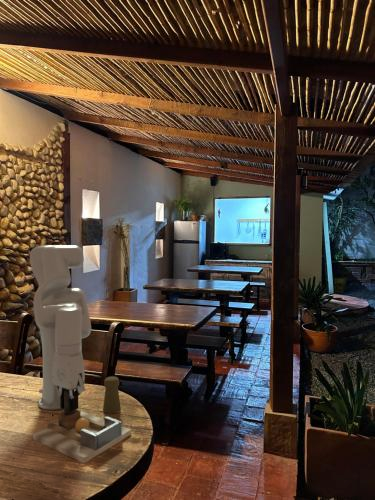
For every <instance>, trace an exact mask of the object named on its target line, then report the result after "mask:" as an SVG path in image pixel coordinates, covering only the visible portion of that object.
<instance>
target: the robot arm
mask: <svg viewBox="0 0 375 500" xmlns="http://www.w3.org/2000/svg"><path fill="white" fill-rule="evenodd" d="M84 258H85V257H84V252H83V250H82V248H81V247H80V246H79V245H74V244H73V245H72V244H69V245H66V244H65V245H55V244H53V245H49V244H47V245H39V246H35V247H33V248H32V249H31V251H30V253H29V262H30V266H31V267H30V268H31V270H32V274H33V276H34V277H35V279H36V282H37V283H38V289H37V290H36V291H35V294H34V297H33V312H34V320H35V324H36V326H37V328H39V333H40V334H39V335H40V341H41V349H42V350H41V351H42V387H41V388H40V389H39V390H38V392H39V393H40V394H41V398H39V400H38V406H39V407H40V409H43V410H46V411H47V410H50V411H54V410H62V409H63V410H64V390H65V389H68V390H69V392H70V398H69V400H68V401H69V411H70V412H71V411H74V410H78V409H79V396H81V394H82V393H83V392H85V391H86V388H85V380H86V379H85V376H86V375H85V363H84V362H85V361H84V358H83V357H84V356H83V352H82V351H83V350H82V344H83V343H82V339H85V338H87V337H89V336H90V334H91V332H92V323H91V317H90V314H89V312H90V311H89V307H88V301H87V297H86V294H85V292H84V290H83V289H81V288H79V287H68V286H69V285H70V284H71V283H72V277H71V273H70V269H79V268H81V267H83V265H84V261H85V260H84ZM67 287H68V288H67ZM73 390H74V392H73Z"/></svg>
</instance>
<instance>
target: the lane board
mask: <svg viewBox="0 0 375 500" xmlns="http://www.w3.org/2000/svg"><path fill="white" fill-rule="evenodd" d="M80 418H86V419H88V421H89V428H88V431H90V432H93V433H95V434H96V433H98V432H99V431H101V430H103V429H104V419H103V418H101V417H98V416H96V415H93V414H90V413H87V412H85V411H82V410H80ZM131 435H132V429H131V428H129V427H126V426H122V435H121V436H119V437H118V438H116V439H114V440H113V441H111V442H109V443H108V444H106V445H104V446H103V447H101V448H99V449H98V450H96V451H95V450H93V449H90V448H88V447H86V446H84V445H81V436H80V432H78V431H77V430H76V427H74V428H72V429H70V430H68V429H66V428H63V427H61V426H59V423H58V421H57V422H55V423H54V422H51V421H48V422H47V424H46V427H45V428H42V429H40V430H38V431H37V432H34V433H33V434H32V439H33V440H35V441H37V442H39V443H41V444H42V445H45V446H47V447H49V448H51V449H53V450H55V451H58V452H60V453H61V454H63V455H66V456H68V457H70V458H72V459H75V460H76V461H78V462H80V463H82V464H86V463H87V462H88V461H90V460H92V459H94V458H96V457H97V456H98V455H100V454H102V453H103V452H106V450H108V449H110V448H111V447H113V446H114V445H117V444H119V443H120V442H121V441H123V440H124V439H126V438H127V437H129V436H131Z"/></svg>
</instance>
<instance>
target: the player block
mask: <svg viewBox="0 0 375 500" xmlns="http://www.w3.org/2000/svg"><path fill="white" fill-rule="evenodd" d="M74 391H75V389H74V390H73V392H74ZM69 398H70V392H69V390H68V389H65V390H64V408H63V411H62V412H59V413H58V417H57V418H58V419H57V420H58V421H57V422H58V423H59V426H61V427H63V428H66V429H68V430H70V429H72V428H74V427H75V425H76V422H77V420H78V419H80V412H81V410H78V409H76V410H74V411H71V412H70V411H69V401H68V400H69Z"/></svg>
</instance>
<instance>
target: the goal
mask: <svg viewBox="0 0 375 500" xmlns="http://www.w3.org/2000/svg"><path fill="white" fill-rule="evenodd" d="M103 418H104V429H103V430H101V431H99V432H98V433H96V434H95V433H93V432H90V431H88V430H86V429H81V430H80V436H81V445H84V446H86V447H88V448H90V449H93V450H95V451H96V450H98V449H99V448H101V447H103V446H104V445H106V444H108V443H109V442H111V441H113V440H114V439H116V438H118V437H119V436H121V435H122V421H121V420H118V419H116V418H113V417H110V416H105V417H103Z"/></svg>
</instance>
